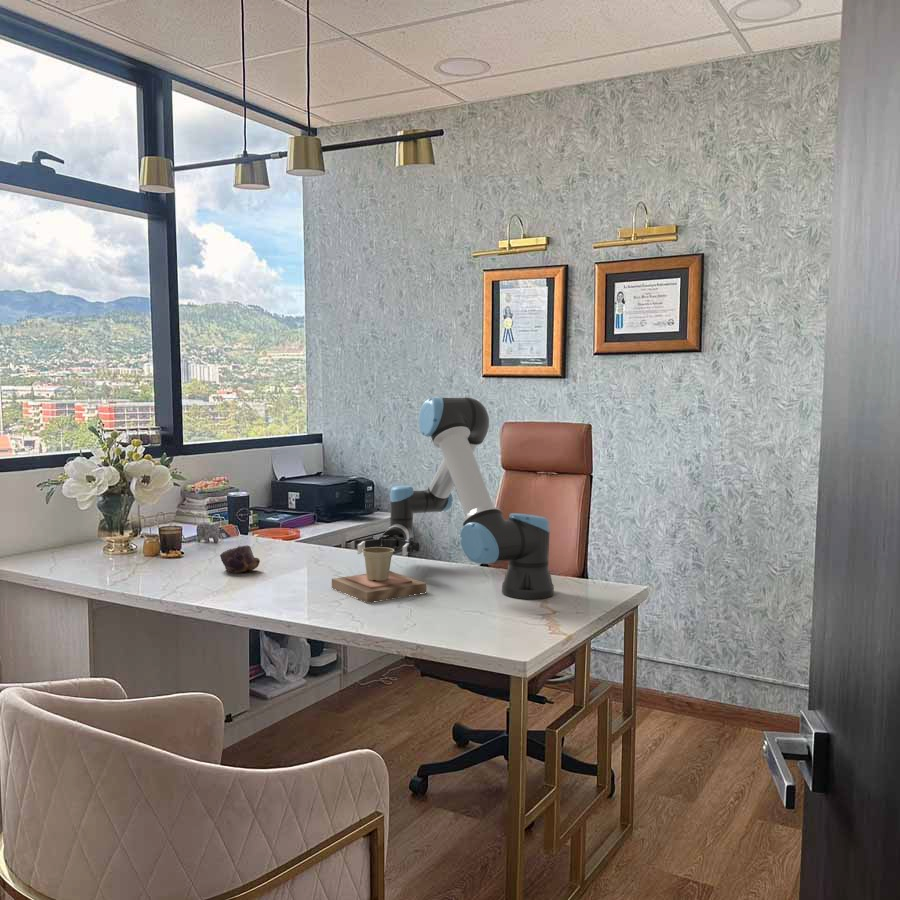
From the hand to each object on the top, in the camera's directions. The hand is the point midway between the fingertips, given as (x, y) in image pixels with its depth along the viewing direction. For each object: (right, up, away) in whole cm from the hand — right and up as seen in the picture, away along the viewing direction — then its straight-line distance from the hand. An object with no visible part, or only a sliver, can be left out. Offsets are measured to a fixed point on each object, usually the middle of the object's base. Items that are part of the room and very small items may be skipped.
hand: (381, 550), depth 248 cm
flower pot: (-1, -8, -3) cm, 9 cm away
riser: (0, -11, -3) cm, 12 cm away
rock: (-47, -9, +19) cm, 52 cm away
